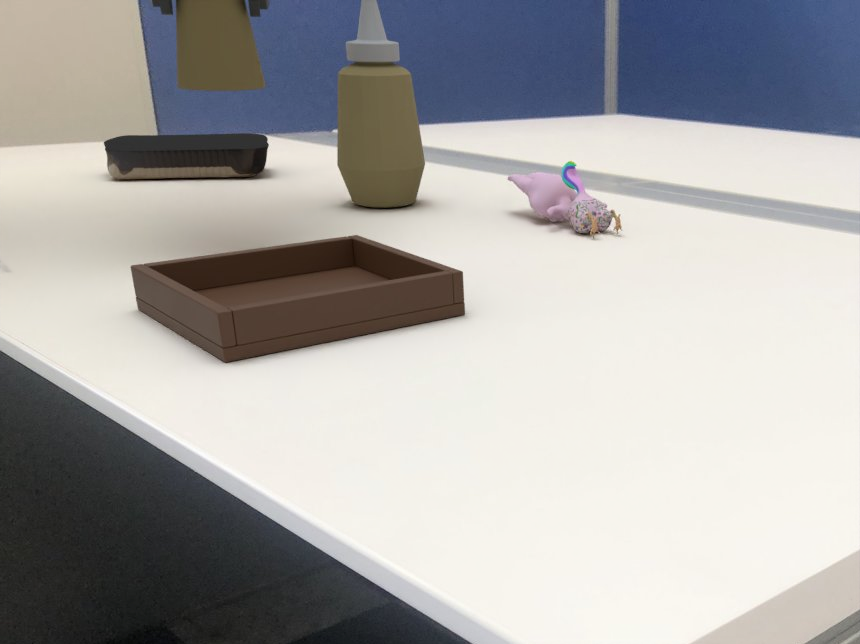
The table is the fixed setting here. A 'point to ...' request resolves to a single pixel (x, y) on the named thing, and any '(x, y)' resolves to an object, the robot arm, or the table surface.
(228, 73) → the cork
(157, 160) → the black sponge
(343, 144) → the squeeze bottle
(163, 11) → the robot arm
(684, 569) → the table surface
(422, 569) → the table surface
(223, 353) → the tray
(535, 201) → the pink figurine
